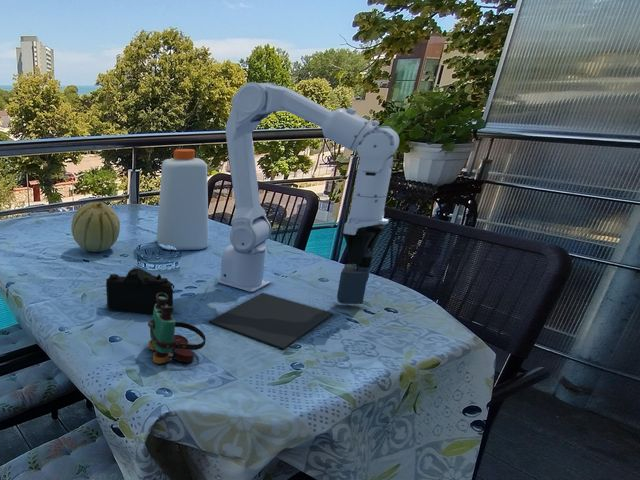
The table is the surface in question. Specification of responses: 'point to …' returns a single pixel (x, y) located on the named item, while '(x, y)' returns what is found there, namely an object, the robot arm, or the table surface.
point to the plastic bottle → (183, 202)
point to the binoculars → (170, 334)
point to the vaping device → (354, 281)
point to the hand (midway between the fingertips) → (357, 262)
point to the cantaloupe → (95, 227)
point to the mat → (272, 320)
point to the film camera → (136, 291)
